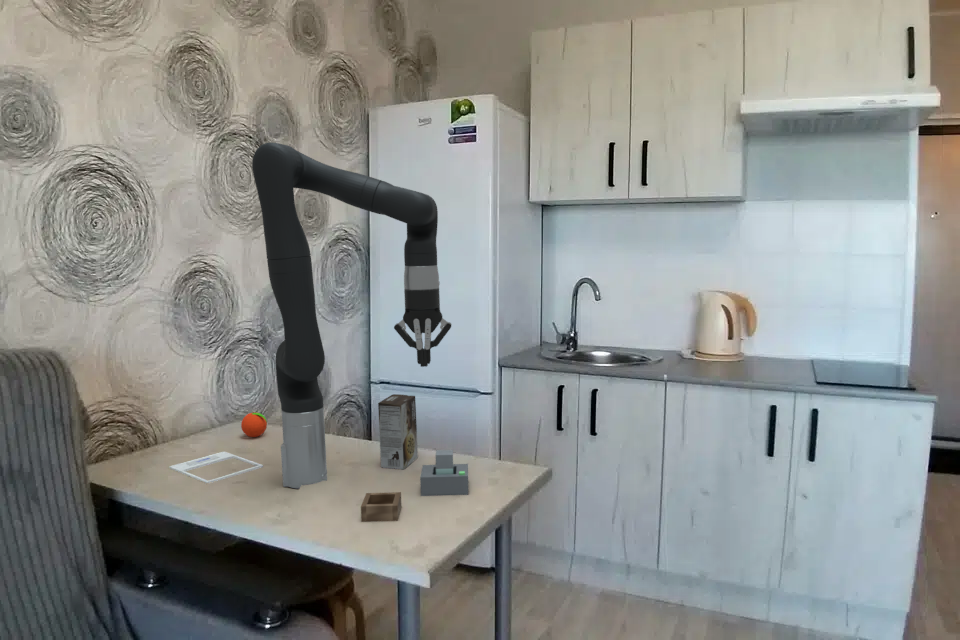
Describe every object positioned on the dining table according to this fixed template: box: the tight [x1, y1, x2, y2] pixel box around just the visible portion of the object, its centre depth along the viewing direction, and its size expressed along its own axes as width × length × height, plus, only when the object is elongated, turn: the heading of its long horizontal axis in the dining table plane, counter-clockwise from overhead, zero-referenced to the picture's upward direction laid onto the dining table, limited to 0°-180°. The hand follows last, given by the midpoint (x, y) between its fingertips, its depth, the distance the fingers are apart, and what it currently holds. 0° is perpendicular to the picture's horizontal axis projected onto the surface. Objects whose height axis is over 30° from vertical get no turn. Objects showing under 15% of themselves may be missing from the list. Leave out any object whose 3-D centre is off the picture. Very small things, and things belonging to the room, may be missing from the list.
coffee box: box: [377, 394, 419, 470], centre depth 170 cm, size 9×6×16 cm
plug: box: [435, 449, 454, 475], centre depth 149 cm, size 4×4×8 cm
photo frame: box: [168, 451, 264, 484], centre depth 170 cm, size 15×1×18 cm
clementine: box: [240, 411, 268, 438], centre depth 195 cm, size 8×7×7 cm
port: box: [419, 463, 469, 497], centre depth 150 cm, size 10×8×5 cm
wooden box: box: [360, 491, 403, 523], centre depth 137 cm, size 7×7×4 cm
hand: (424, 365), depth 151 cm, fingers closed
